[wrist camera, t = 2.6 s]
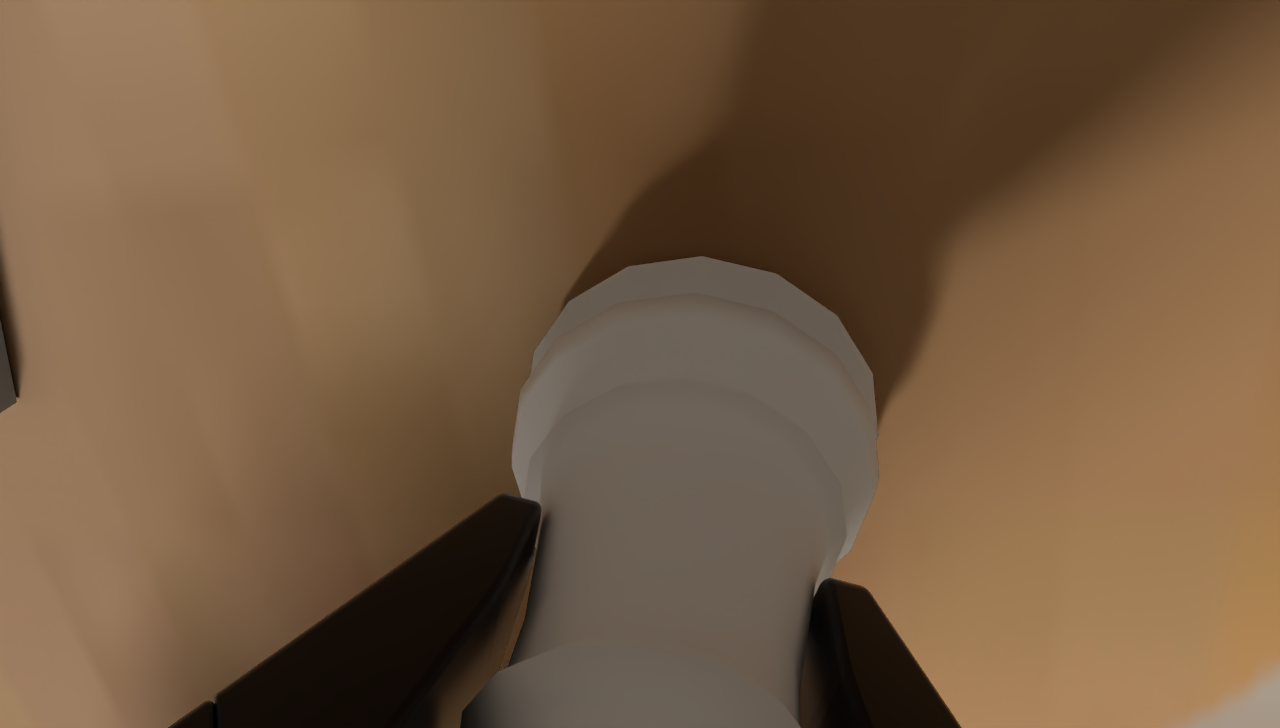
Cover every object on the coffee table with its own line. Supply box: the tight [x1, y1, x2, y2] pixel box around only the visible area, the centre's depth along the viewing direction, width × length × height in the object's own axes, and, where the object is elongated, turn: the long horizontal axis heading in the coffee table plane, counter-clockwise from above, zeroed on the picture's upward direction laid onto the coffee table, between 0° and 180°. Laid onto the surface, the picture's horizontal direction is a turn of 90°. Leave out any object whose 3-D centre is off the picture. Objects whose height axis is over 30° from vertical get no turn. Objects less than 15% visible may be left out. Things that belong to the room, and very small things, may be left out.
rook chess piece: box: [460, 256, 880, 728], centre depth 8 cm, size 4×4×8 cm
